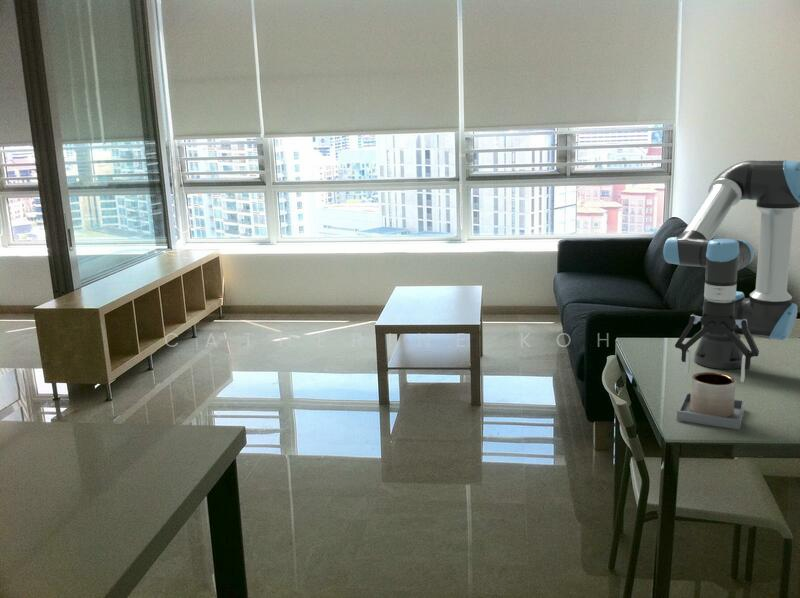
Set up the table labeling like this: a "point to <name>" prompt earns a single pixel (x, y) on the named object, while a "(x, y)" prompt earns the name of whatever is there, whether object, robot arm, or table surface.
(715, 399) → the planter
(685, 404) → the tray
